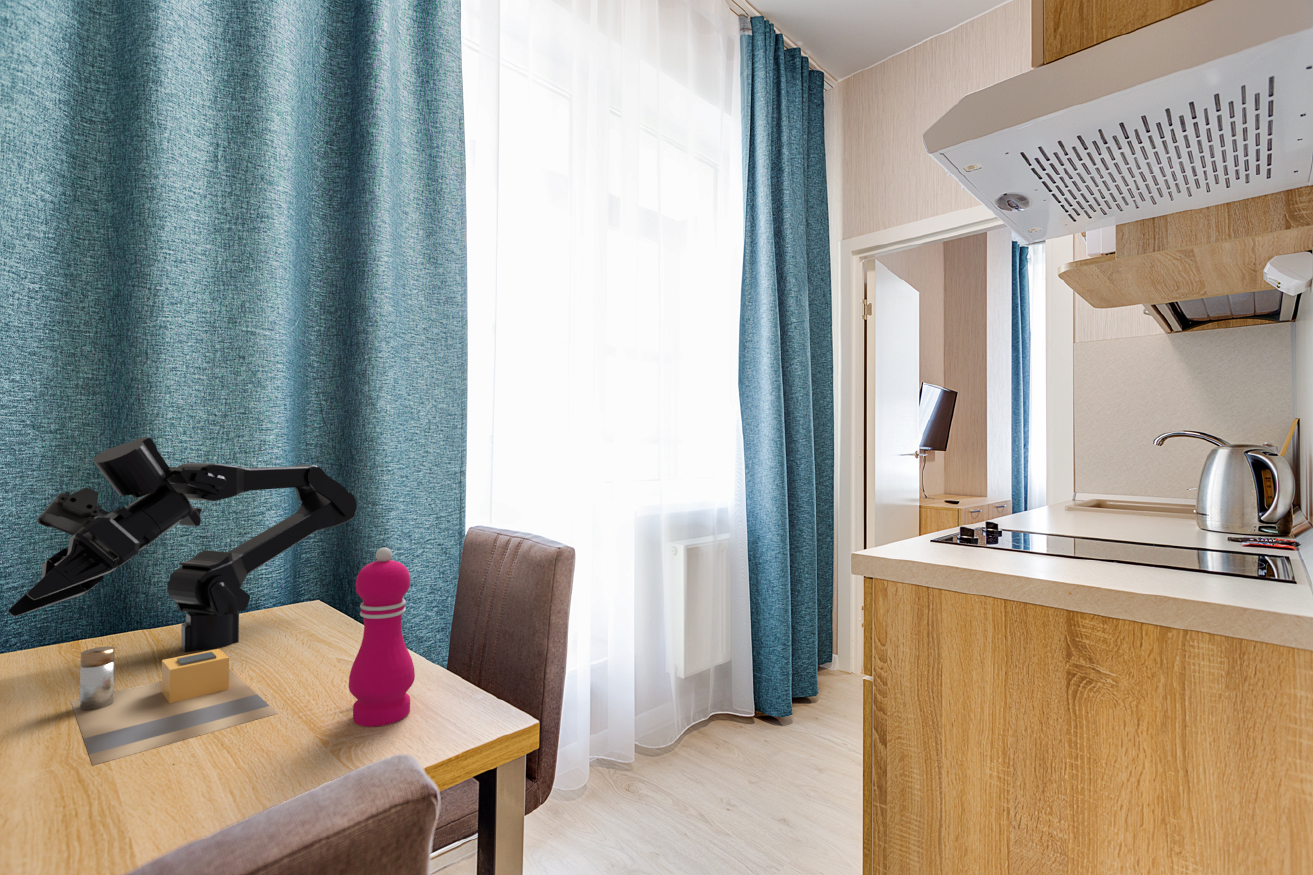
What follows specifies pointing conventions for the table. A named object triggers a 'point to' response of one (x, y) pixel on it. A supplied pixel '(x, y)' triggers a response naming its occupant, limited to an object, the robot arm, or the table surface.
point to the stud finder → (195, 675)
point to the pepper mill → (382, 645)
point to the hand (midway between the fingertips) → (20, 605)
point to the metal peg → (97, 678)
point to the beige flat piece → (163, 718)
